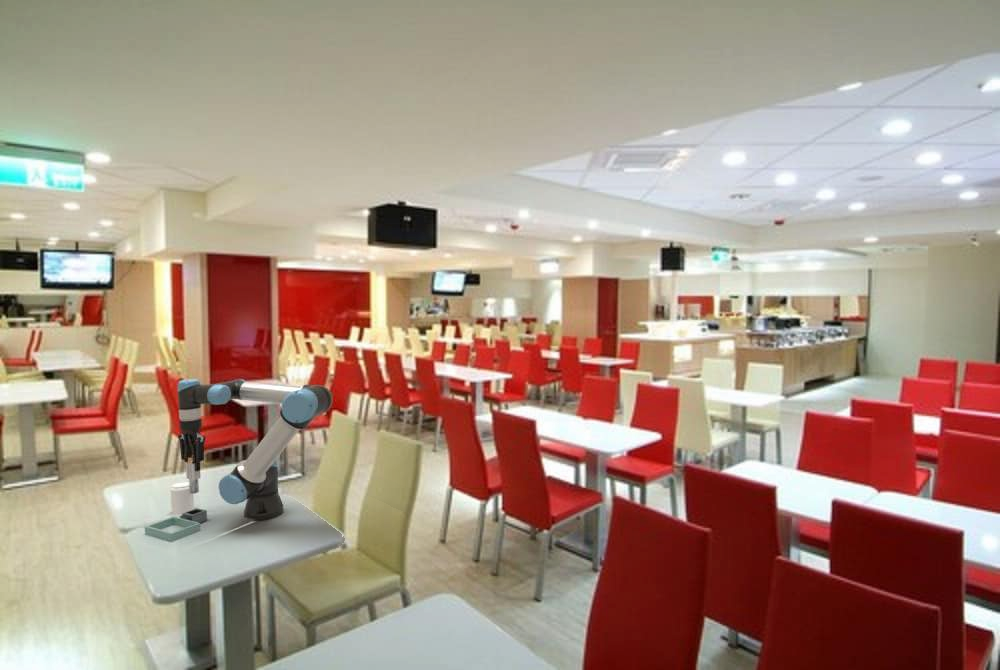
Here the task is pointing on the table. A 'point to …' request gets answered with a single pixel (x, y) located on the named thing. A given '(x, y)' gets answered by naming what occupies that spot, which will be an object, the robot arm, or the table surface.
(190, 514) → the dark grey open box
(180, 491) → the white upright cylinder
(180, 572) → the table surface
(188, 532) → the tray
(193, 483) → the grey orange cylinder
